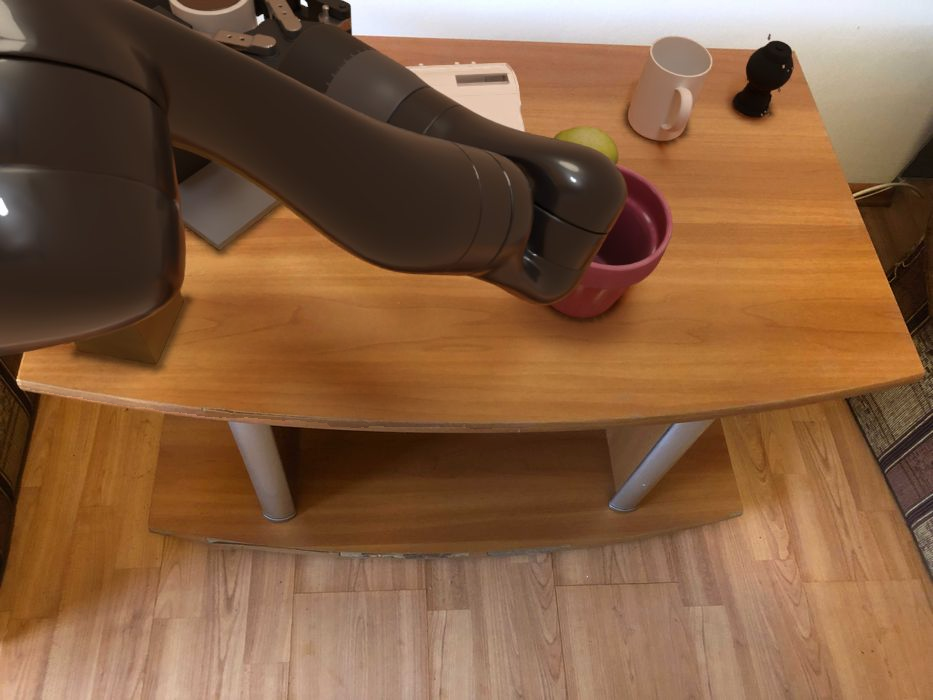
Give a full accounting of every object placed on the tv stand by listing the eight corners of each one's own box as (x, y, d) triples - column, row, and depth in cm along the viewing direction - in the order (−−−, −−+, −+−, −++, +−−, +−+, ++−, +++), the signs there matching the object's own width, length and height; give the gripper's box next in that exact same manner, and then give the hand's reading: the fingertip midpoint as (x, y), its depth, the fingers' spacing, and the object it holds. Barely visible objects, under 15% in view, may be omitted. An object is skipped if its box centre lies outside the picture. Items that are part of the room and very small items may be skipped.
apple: (605, 217, 91) (623, 169, 84) (535, 194, 91) (547, 145, 85) (619, 174, 95) (637, 126, 88) (552, 153, 95) (564, 103, 89)
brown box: (79, 351, 75) (-8, 227, 59) (110, 288, 79) (38, 157, 63) (156, 364, 75) (92, 244, 59) (184, 301, 79) (130, 173, 63)
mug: (624, 99, 102) (646, 32, 93) (679, 104, 103) (707, 37, 94) (633, 163, 96) (658, 98, 87) (692, 167, 96) (723, 103, 87)
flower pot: (642, 344, 81) (681, 274, 70) (516, 333, 81) (535, 260, 70) (633, 243, 89) (667, 166, 78) (517, 232, 88) (535, 152, 77)
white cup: (182, 107, 60) (153, 4, 52) (207, 61, 63) (182, -43, 55) (256, 120, 60) (237, 19, 52) (276, 73, 63) (261, -29, 55)
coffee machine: (295, 191, 88) (266, 9, 68) (219, 250, 83) (163, 71, 62) (202, 127, 92) (148, -63, 72) (123, 180, 87) (41, -10, 66)
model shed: (324, 187, 89) (319, 144, 83) (315, 105, 96) (310, 59, 90) (524, 174, 93) (534, 132, 87) (502, 96, 100) (509, 52, 94)
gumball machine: (779, 121, 103) (815, 60, 94) (743, 129, 101) (776, 67, 93) (754, 90, 106) (786, 28, 97) (719, 97, 104) (748, 34, 96)
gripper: (425, 10, 52) (253, -87, 56) (278, 112, 45) (95, -6, 49) (420, 96, 58) (266, 4, 62) (291, 197, 52) (128, 86, 56)
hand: (191, 0), depth 56 cm, fingers closed on white cup, 6 cm apart
